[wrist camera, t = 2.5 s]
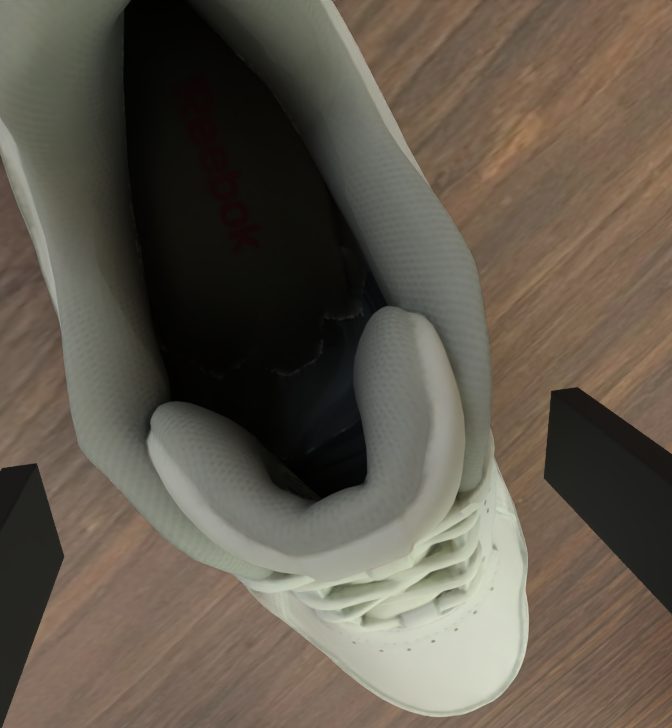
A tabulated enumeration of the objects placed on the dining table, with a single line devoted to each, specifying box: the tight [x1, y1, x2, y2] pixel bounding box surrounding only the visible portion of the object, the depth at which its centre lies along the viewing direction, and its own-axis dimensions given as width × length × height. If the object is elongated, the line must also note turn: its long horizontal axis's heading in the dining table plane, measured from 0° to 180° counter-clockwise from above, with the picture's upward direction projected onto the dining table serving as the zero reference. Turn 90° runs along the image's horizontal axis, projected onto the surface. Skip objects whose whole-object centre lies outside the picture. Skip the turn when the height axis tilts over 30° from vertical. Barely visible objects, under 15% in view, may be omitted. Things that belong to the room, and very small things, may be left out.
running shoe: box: [0, 0, 529, 717], centre depth 15 cm, size 11×27×14 cm, turn 26°
